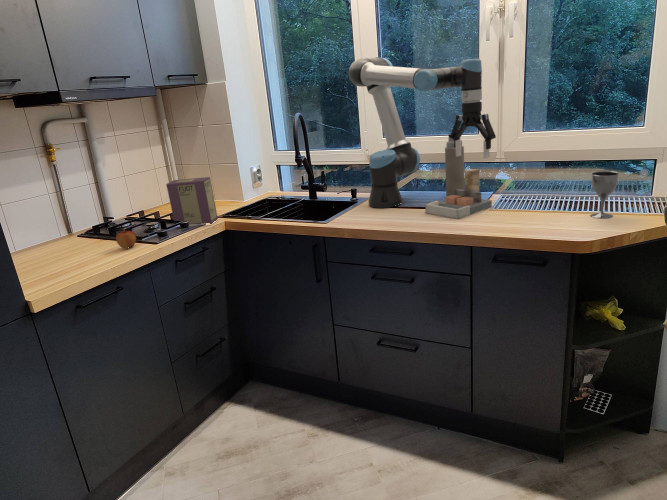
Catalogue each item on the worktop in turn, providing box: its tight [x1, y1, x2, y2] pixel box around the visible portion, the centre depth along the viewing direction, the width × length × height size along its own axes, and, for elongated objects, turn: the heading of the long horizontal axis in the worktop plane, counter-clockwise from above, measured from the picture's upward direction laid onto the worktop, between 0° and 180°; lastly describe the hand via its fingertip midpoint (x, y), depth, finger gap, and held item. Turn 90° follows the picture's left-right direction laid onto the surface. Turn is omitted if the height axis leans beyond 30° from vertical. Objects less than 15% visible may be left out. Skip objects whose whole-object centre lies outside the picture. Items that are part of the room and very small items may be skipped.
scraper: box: [455, 168, 482, 203], centre depth 193 cm, size 12×6×12 cm, turn 37°
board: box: [439, 198, 493, 215], centre depth 193 cm, size 16×14×3 cm
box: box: [165, 176, 219, 224], centre depth 211 cm, size 17×9×20 cm, turn 86°
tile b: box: [457, 197, 473, 206], centre depth 188 cm, size 4×4×2 cm
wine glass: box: [589, 170, 620, 220], centre depth 163 cm, size 8×8×15 cm
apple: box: [115, 228, 137, 249], centre depth 187 cm, size 7×7×8 cm
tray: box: [424, 200, 471, 220], centre depth 187 cm, size 16×7×4 cm, turn 37°
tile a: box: [444, 195, 461, 204], centre depth 193 cm, size 4×4×2 cm
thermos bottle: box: [444, 133, 465, 197], centre depth 208 cm, size 8×8×28 cm
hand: (472, 156), depth 190 cm, fingers open, 13 cm apart
